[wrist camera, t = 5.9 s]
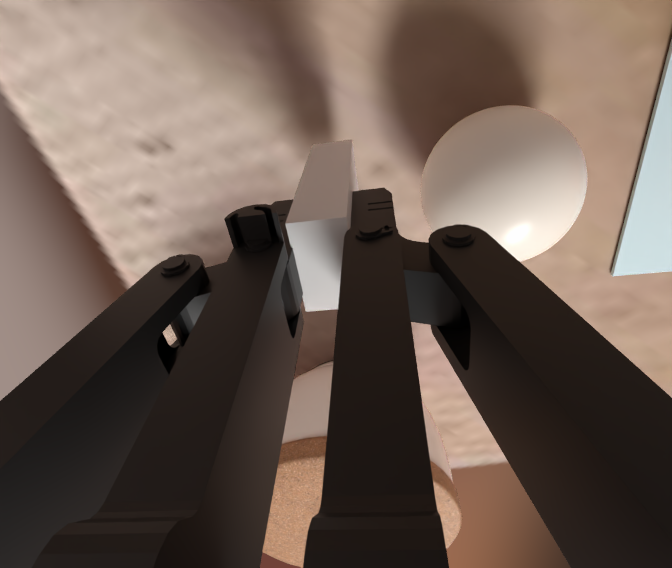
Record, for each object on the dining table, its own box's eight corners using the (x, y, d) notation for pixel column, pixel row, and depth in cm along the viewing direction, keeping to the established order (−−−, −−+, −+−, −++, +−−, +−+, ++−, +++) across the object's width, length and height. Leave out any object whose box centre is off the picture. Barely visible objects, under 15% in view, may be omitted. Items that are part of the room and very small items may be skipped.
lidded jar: (333, 465, 30) (322, 626, 22) (226, 378, 26) (166, 543, 18) (469, 411, 26) (514, 585, 18) (371, 296, 22) (375, 464, 14)
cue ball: (644, 173, 11) (607, 103, 15) (437, 123, 12) (454, 68, 16) (545, 314, 15) (536, 228, 19) (393, 270, 15) (415, 196, 19)
